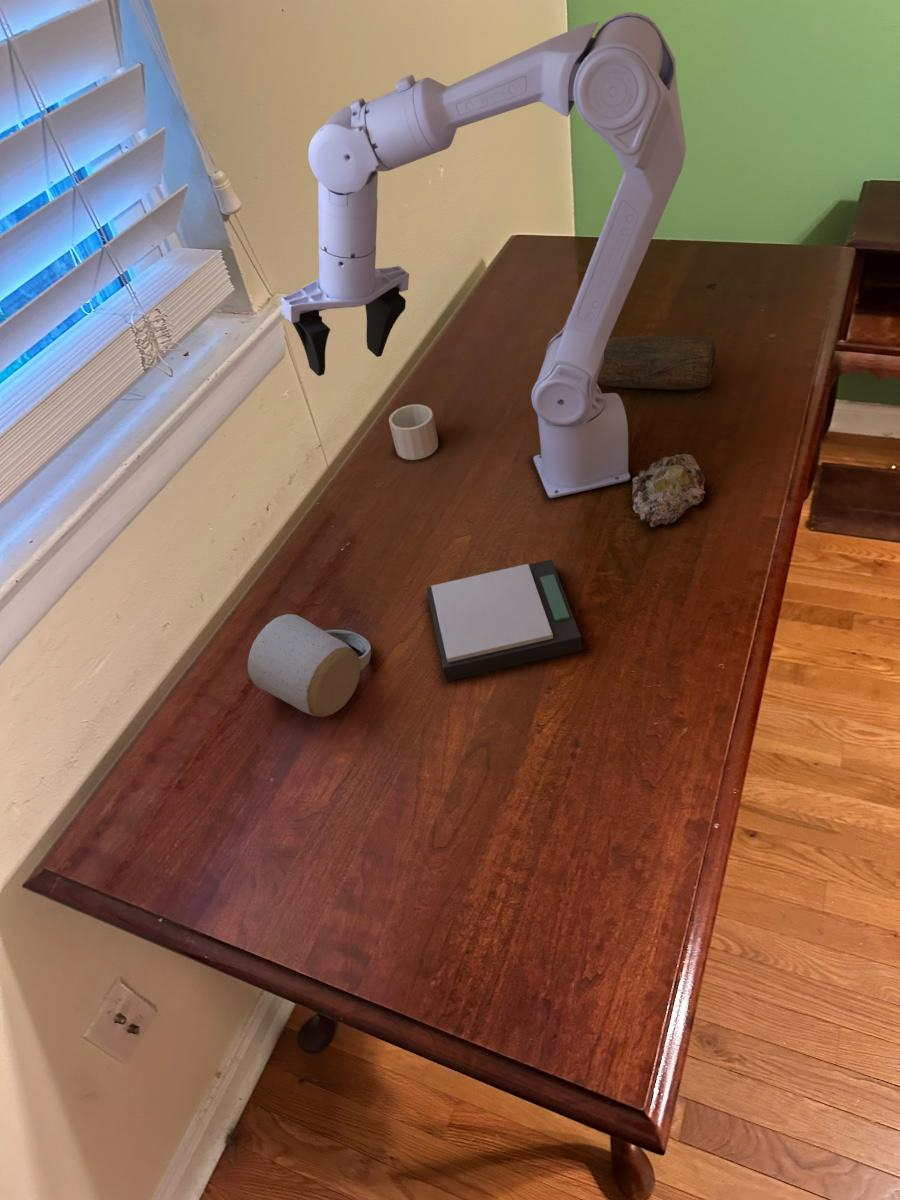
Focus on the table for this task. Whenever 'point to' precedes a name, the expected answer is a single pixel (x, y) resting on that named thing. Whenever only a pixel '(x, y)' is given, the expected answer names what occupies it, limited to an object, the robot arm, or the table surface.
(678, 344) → the wooden log
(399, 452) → the cream cup
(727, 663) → the table surface
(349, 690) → the ceramic mug
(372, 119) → the robot arm
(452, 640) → the scale
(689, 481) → the mineral rock
